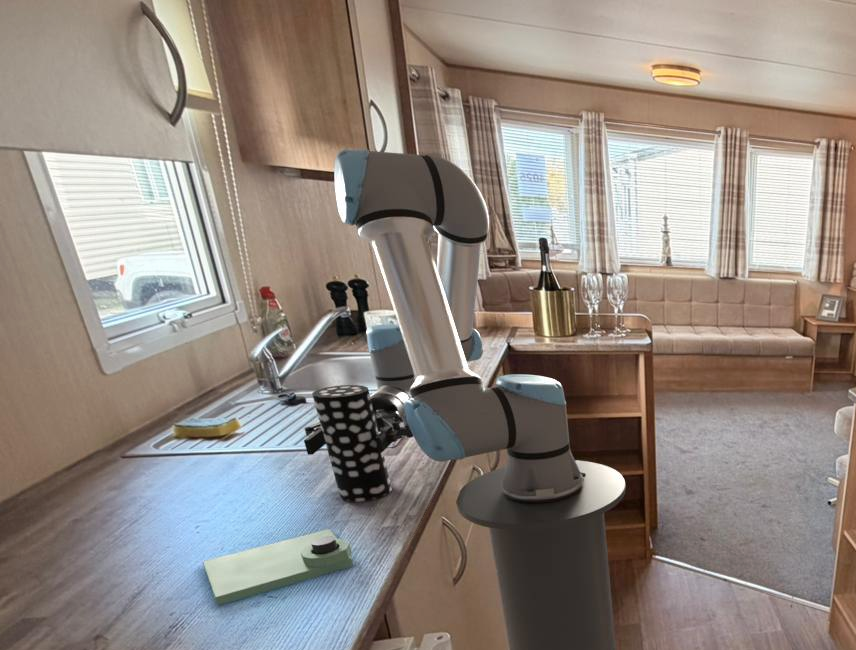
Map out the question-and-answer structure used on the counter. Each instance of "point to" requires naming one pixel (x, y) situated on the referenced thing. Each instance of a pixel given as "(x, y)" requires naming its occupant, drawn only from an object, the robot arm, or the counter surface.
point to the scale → (273, 567)
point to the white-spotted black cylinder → (352, 442)
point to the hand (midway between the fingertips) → (344, 446)
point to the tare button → (324, 545)
